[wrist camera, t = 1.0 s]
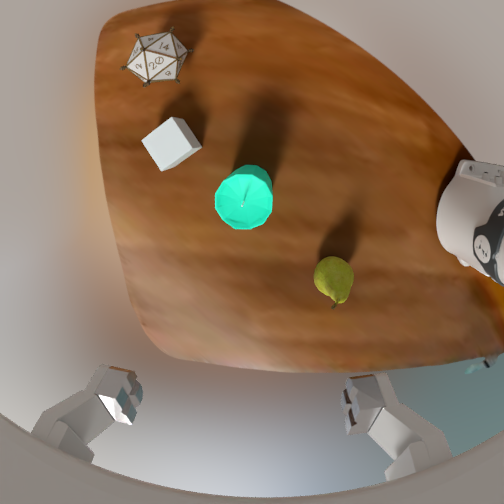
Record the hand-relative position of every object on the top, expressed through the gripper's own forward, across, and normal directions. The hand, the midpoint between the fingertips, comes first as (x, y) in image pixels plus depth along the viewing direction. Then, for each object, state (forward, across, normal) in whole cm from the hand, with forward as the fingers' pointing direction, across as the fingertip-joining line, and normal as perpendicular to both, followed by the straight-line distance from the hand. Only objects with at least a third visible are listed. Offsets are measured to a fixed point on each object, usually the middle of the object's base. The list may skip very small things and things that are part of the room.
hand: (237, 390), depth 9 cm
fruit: (+31, -11, +10) cm, 34 cm away
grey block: (+31, +11, -9) cm, 34 cm away
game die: (+31, +12, -21) cm, 39 cm away
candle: (+31, +1, -2) cm, 31 cm away
